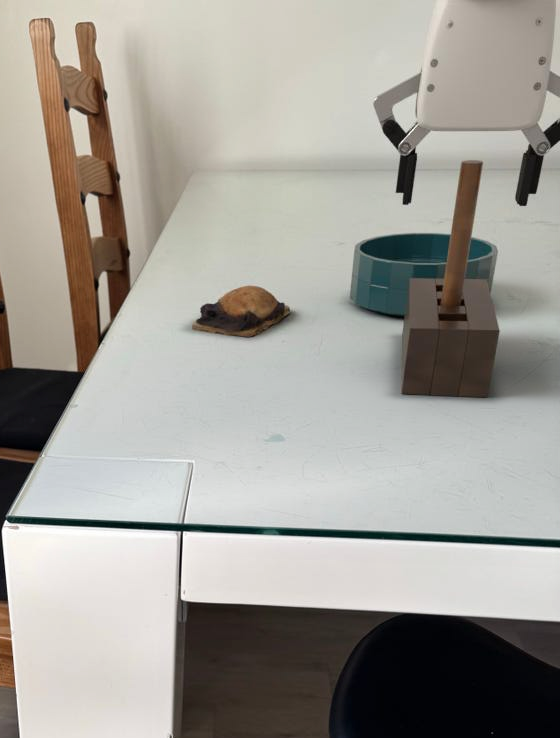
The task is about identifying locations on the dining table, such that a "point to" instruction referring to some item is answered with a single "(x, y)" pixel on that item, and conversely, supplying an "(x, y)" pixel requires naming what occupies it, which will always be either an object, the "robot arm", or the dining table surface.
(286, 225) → the dining table surface
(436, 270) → the bowl
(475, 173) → the stick
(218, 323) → the turtle figurine
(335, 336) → the dining table surface
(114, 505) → the dining table surface
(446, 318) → the holder
